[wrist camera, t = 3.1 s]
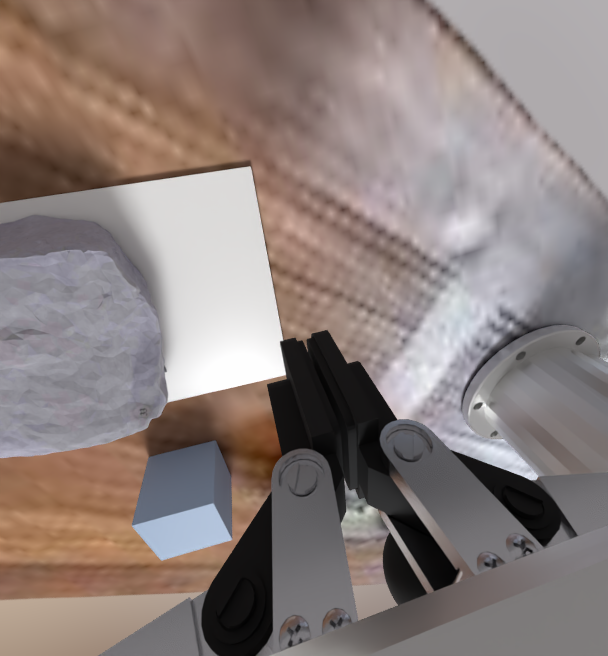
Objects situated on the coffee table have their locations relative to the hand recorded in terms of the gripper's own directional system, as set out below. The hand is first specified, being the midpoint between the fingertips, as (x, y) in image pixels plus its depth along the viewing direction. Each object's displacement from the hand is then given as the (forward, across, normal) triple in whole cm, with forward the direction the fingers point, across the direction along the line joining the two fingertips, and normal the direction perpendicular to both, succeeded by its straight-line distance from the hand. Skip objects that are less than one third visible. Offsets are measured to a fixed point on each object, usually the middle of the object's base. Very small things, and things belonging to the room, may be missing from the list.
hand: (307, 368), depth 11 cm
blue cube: (+8, +9, +15) cm, 19 cm away
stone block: (+9, +11, +1) cm, 14 cm away
